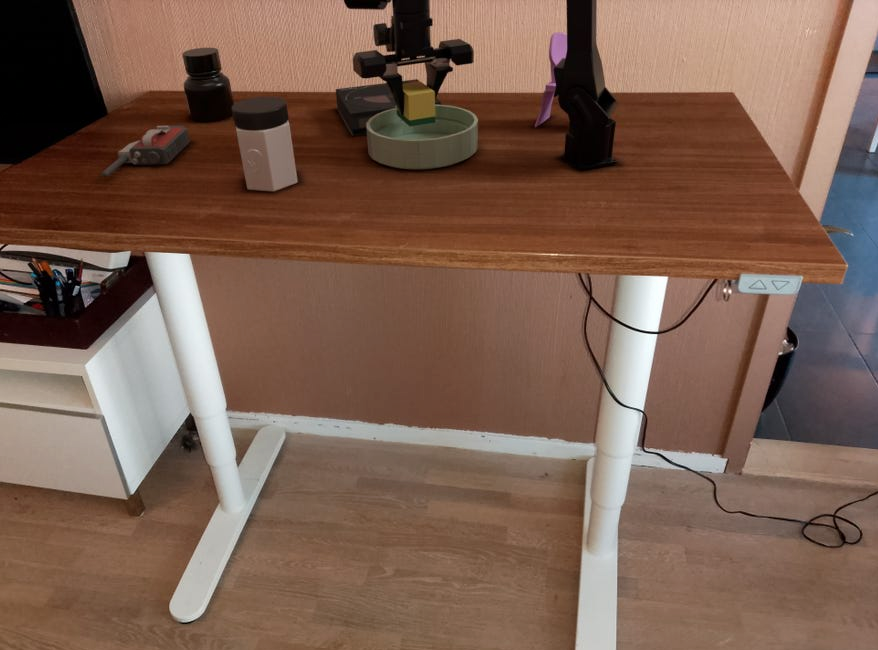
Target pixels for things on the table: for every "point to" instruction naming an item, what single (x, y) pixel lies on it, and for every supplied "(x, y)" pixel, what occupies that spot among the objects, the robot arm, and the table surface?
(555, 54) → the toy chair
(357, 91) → the portable cd player
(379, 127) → the bowl
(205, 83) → the ink bottle
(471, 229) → the table surface
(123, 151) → the walkie-talkie
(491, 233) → the table surface
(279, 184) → the jar
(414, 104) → the sponge
